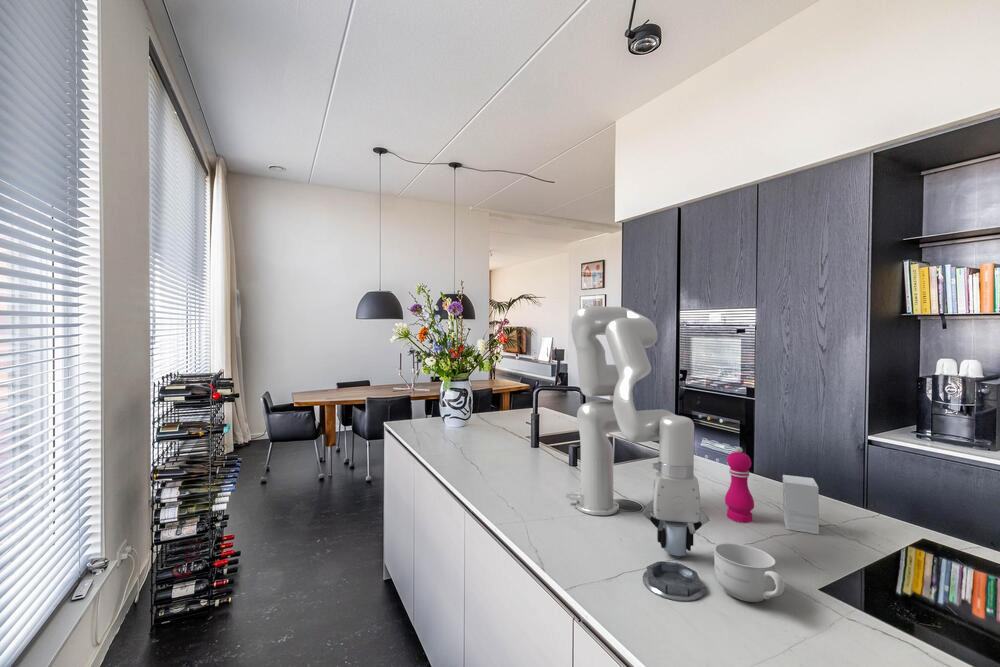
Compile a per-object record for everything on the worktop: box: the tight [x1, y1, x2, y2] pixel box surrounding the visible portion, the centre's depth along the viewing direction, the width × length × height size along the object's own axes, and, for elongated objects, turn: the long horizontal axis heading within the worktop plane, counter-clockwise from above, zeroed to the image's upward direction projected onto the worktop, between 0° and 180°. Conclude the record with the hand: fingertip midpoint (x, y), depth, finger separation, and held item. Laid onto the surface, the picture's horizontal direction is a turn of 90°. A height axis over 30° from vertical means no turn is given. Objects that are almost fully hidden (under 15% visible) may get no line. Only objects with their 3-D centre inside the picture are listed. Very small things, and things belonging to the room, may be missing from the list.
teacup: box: [713, 542, 785, 603], centre depth 87 cm, size 14×11×8 cm
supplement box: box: [782, 474, 820, 535], centre depth 118 cm, size 7×7×13 cm
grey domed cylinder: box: [663, 521, 688, 557], centre depth 103 cm, size 5×5×7 cm
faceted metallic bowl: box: [642, 560, 706, 602], centre depth 91 cm, size 12×12×2 cm
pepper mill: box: [724, 446, 755, 524], centre depth 124 cm, size 7×7×20 cm
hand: (675, 545), depth 103 cm, fingers closed on grey domed cylinder, 5 cm apart
